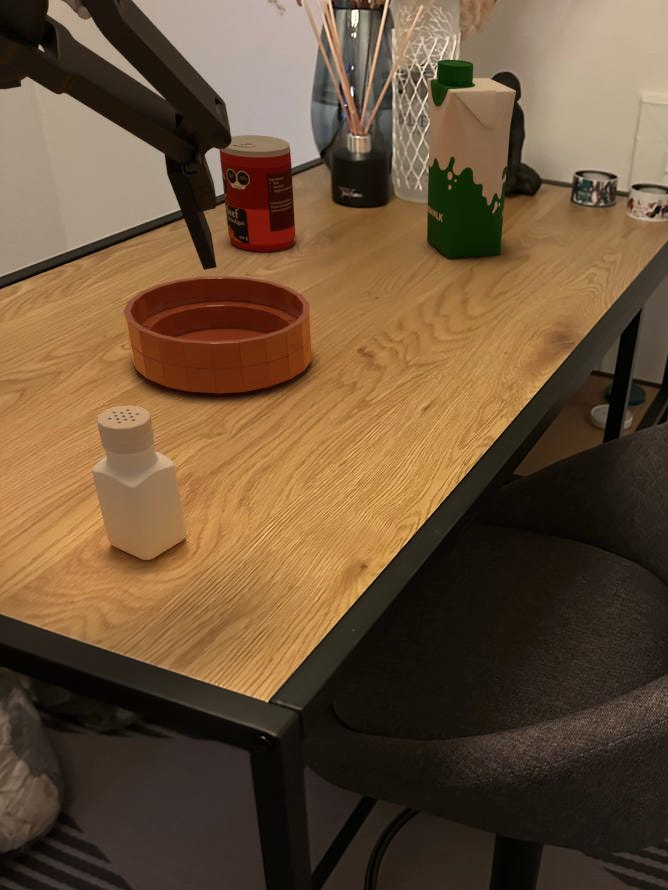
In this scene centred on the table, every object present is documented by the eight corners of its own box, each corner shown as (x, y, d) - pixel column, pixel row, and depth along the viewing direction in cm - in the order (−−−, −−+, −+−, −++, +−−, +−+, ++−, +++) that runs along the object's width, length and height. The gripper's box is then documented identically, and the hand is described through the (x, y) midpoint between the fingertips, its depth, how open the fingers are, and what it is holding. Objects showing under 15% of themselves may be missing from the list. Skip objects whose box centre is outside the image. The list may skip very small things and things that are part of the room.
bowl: (94, 370, 84) (83, 316, 81) (209, 314, 96) (203, 264, 93) (243, 415, 80) (237, 359, 76) (344, 350, 91) (343, 298, 88)
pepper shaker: (105, 546, 64) (75, 418, 58) (149, 520, 67) (125, 396, 61) (147, 566, 62) (121, 437, 56) (191, 539, 65) (170, 413, 59)
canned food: (227, 233, 116) (216, 134, 109) (292, 231, 118) (286, 134, 111) (231, 253, 110) (220, 151, 103) (299, 251, 112) (293, 151, 105)
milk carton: (417, 239, 119) (420, 55, 106) (482, 234, 122) (493, 55, 109) (443, 262, 113) (450, 70, 100) (511, 256, 116) (526, 69, 103)
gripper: (-514, -43, 32) (-132, 365, 52) (207, -153, 34) (313, 281, 54) (-477, -166, 35) (-128, 264, 55) (186, -261, 37) (294, 188, 56)
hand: (90, 273), depth 54 cm, fingers open, 13 cm apart
